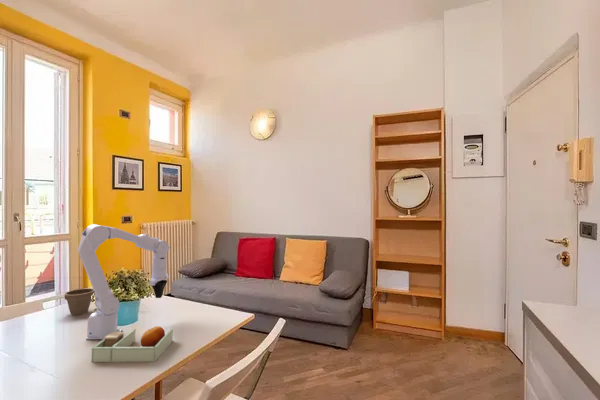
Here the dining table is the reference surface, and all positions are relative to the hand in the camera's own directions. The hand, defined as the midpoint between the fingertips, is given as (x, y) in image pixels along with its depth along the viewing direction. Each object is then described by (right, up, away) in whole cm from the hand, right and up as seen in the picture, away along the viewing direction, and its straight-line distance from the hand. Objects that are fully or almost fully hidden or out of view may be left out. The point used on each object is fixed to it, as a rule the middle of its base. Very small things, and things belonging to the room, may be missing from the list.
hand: (158, 297), depth 130 cm
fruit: (+9, -11, -23) cm, 27 cm away
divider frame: (+4, -10, -26) cm, 28 cm away
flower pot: (-42, -10, +8) cm, 44 cm away
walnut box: (-3, -10, -27) cm, 29 cm away
